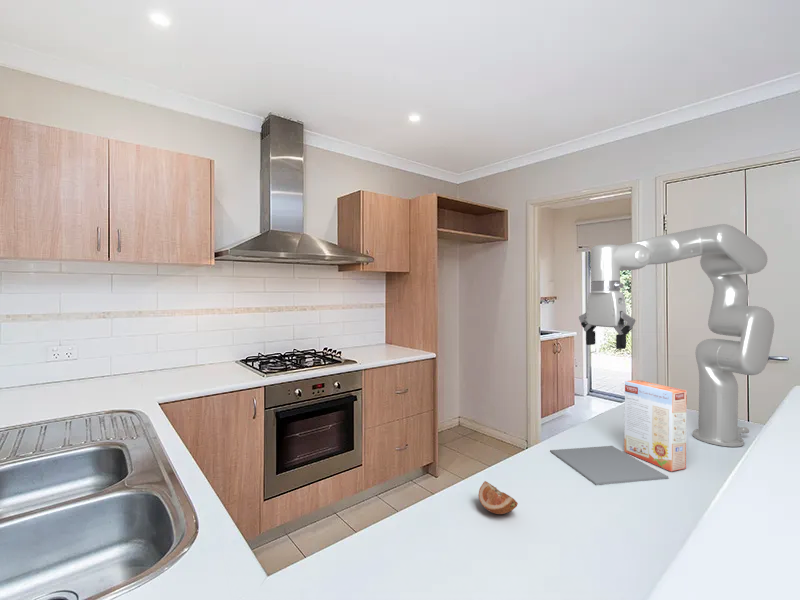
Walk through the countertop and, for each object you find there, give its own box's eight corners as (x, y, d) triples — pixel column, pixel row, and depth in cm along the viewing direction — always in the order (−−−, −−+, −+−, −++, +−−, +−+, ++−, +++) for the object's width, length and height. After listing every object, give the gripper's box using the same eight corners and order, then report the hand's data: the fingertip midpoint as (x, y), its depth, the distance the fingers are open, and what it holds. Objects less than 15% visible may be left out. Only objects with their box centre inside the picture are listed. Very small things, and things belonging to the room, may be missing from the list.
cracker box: (687, 469, 103) (688, 389, 102) (670, 473, 101) (672, 391, 100) (638, 449, 116) (639, 378, 115) (623, 452, 114) (624, 380, 113)
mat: (611, 447, 117) (611, 445, 117) (668, 478, 97) (668, 476, 97) (550, 451, 114) (550, 450, 114) (595, 485, 94) (595, 483, 94)
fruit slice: (524, 517, 80) (524, 493, 80) (499, 527, 77) (500, 502, 77) (495, 499, 88) (495, 477, 88) (471, 507, 84) (472, 484, 84)
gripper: (642, 287, 108) (642, 349, 108) (588, 288, 123) (588, 342, 124) (625, 287, 104) (625, 351, 105) (571, 288, 120) (571, 344, 120)
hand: (605, 346), depth 114 cm, fingers open, 9 cm apart
